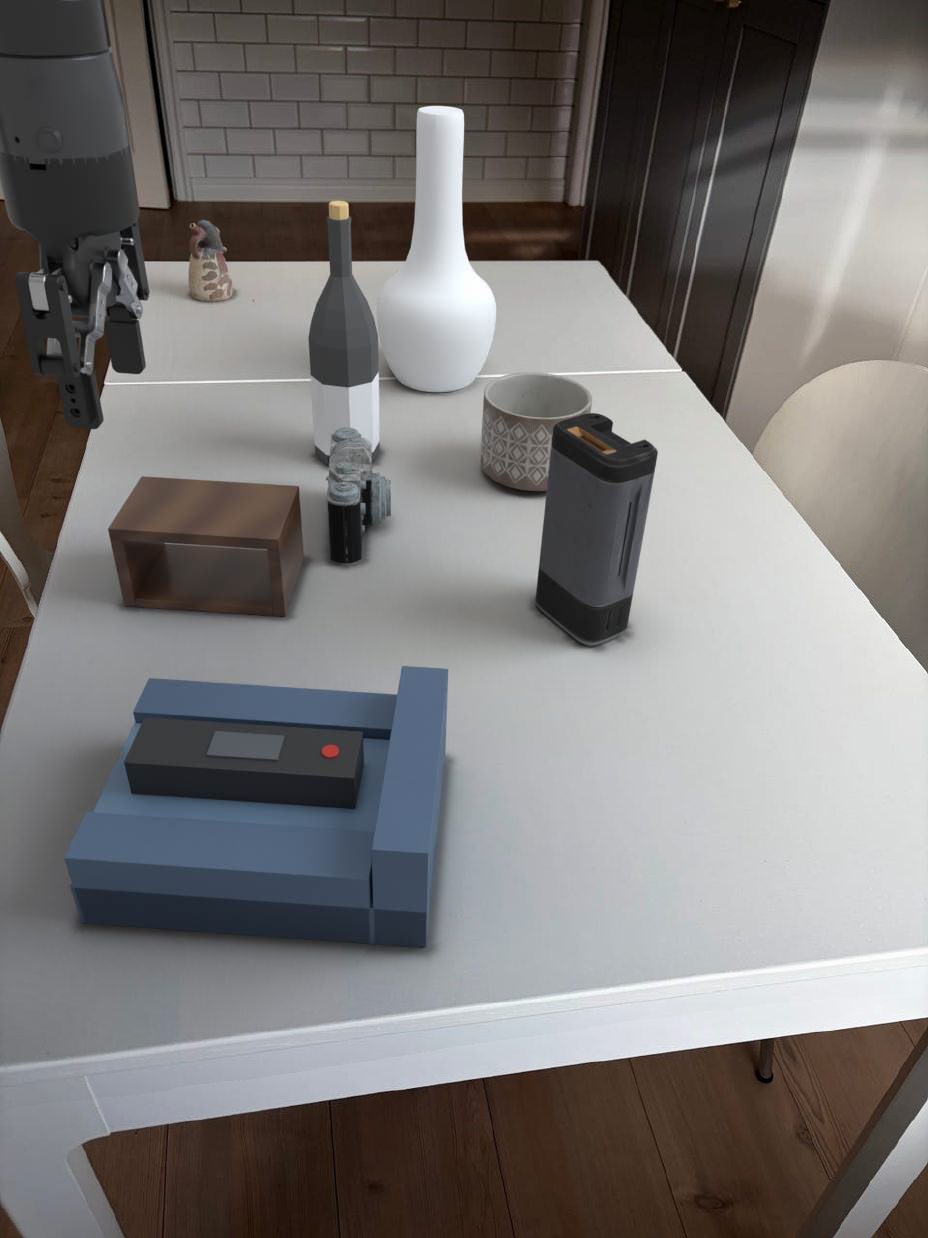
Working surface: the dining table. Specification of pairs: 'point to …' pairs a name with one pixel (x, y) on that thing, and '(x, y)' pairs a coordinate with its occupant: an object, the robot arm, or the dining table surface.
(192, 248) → the figurine
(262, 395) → the dining table surface
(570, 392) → the planter
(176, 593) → the shelf
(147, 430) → the dining table surface
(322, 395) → the wine bottle
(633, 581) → the electronic device
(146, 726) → the remote
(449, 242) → the vase
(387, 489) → the camera
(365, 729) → the sofa
